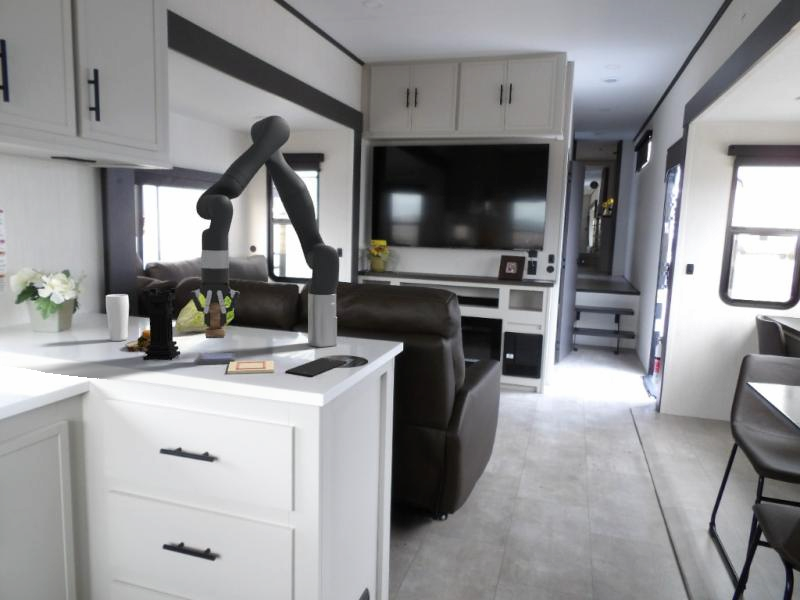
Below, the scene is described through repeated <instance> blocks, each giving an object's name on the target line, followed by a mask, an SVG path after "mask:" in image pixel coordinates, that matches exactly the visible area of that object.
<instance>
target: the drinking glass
mask: <svg viewBox="0 0 800 600" xmlns="http://www.w3.org/2000/svg"><path fill="white" fill-rule="evenodd" d="M129 301H130V299H129V295H128V294H126V293H117V294H115V293H113V294H107V295H105V309H106V310H105V311H106V316H107V317H106V318H107V324H108V332H109V340H110V341H112V342H123V341H127V340H128V339H129V337H128V336H129V335H128V330H129V311H130V302H129Z"/></svg>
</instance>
